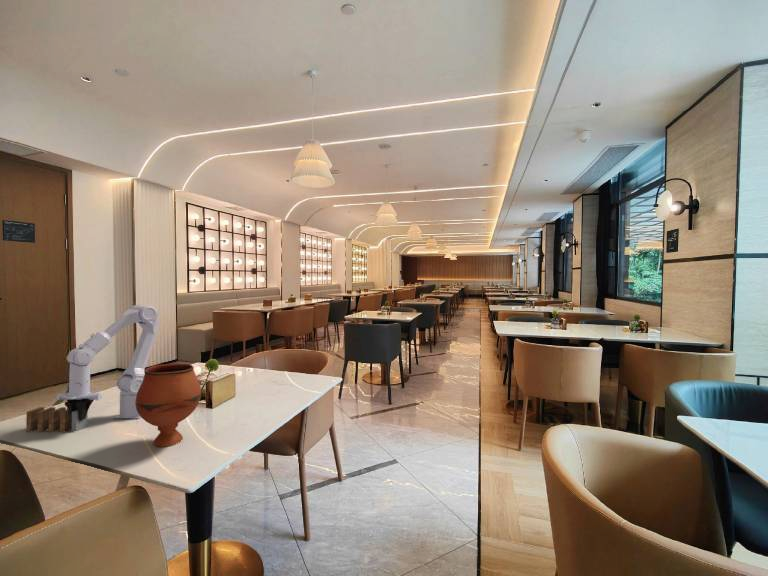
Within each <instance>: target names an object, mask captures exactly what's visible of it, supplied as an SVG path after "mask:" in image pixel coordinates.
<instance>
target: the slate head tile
mask: <svg viewBox="0 0 768 576" xmlns="http://www.w3.org/2000/svg"><path fill="white" fill-rule="evenodd" d="M88 412H89V411H88ZM88 412H87V415H86V418H85V419H84V420H82V421H79V415H78V410H75V411H73V412H72V429H71V432H72V431H73V432H72V433H74V431H77V432H79V431H80V430H83V429H85V428H87V427H88V417H89V415H88V414H89V413H88Z"/></svg>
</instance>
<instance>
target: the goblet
mask: <svg viewBox="0 0 768 576" xmlns="http://www.w3.org/2000/svg"><path fill="white" fill-rule="evenodd" d="M194 368H195V367H194V366H193V365H192V364H188V363H187V364H186V363H166V364H165V363H164V364H157V365H151V366H149V367H148V368H145V369H144V373H145V375H144V378H143V382H142V384H141V386H140V388H139V390H138V392H137V395H136V401H135V405H136V410H137V412H138V414H139V415H140V418H141V419H142V420H144V421H145V422H146V423H148V424H149V425H152V426H154V427H157V431H158V432H159V433H158V435H157V436H156V437H155V438H154V440H153V443H152V444H153V446H154V447H158V448H160V447H162V448H163V447H164V448H165V447H166V446H167V447H172V446H175V445H177V444H176V443H178V442H180V441H181V440H182V441H183V439H184V437H183V435H182V434H181V432H180V431H178V430H177V429H176V428H177V427H178V426H179V423H181V422H182V421H184V420H185V419H187V418H188V417H189V416H191V415H192V413H194V411H195V410H196V409H197V407H198V405H199V403H200V401H201V397H202V387H201V385H200V381H199V379H198V376H197V374H196V373H195V371H194ZM182 441H181V442H182ZM181 442H180V443H181ZM174 444H175V445H174ZM178 444H179V443H178ZM171 445H172V446H171Z"/></svg>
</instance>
